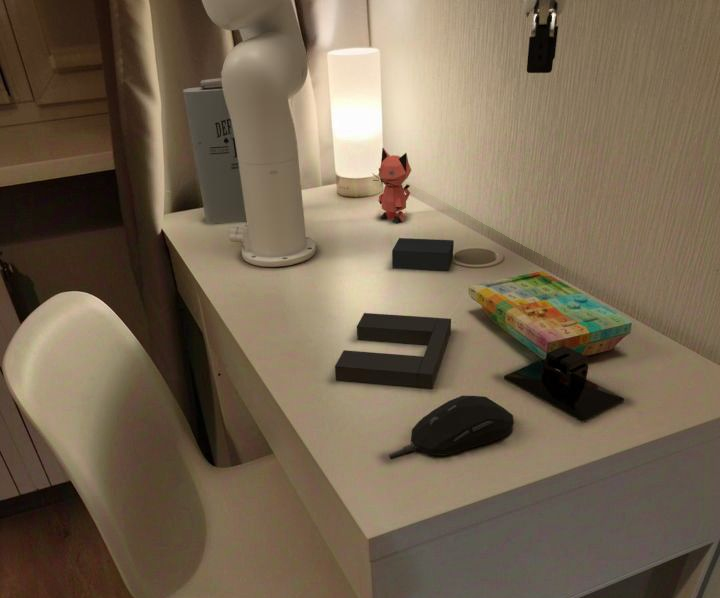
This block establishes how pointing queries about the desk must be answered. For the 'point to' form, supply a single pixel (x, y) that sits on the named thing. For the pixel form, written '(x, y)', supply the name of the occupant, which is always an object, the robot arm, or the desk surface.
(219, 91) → the flask
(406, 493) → the desk surface
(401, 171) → the cat figurine
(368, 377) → the charcoal u-shaped block
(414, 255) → the slate block
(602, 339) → the puzzle game
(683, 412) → the desk surface
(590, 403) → the build plate
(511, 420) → the gaming mouse
